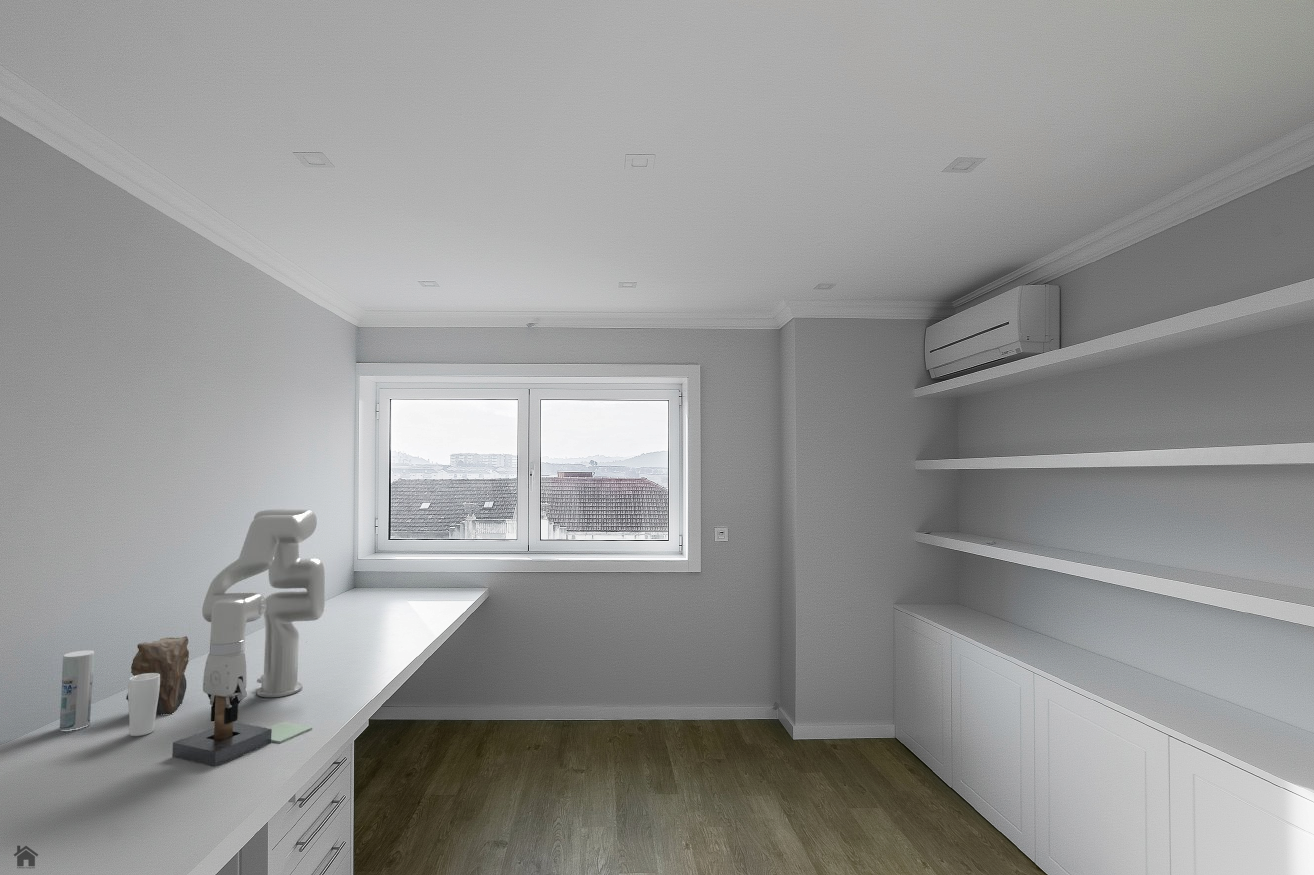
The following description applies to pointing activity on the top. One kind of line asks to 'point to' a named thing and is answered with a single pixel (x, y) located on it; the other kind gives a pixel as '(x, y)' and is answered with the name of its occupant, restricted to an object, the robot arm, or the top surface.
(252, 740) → the dark grey socket block
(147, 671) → the jagged brown boulder
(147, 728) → the drinking glass
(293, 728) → the set down mat
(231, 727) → the tan rounded cylinder
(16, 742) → the top surface
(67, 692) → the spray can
